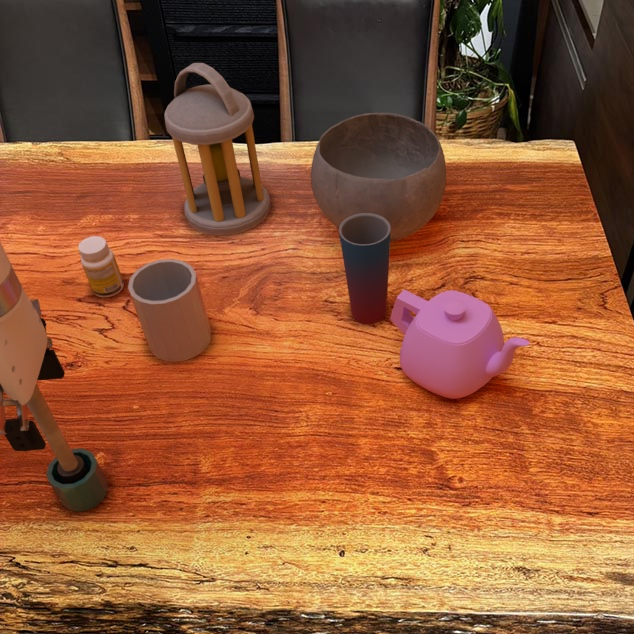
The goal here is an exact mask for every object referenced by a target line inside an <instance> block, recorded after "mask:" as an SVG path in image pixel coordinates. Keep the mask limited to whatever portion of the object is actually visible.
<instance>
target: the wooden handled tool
mask: <svg viewBox="0 0 634 634" xmlns="http://www.w3.org/2000/svg"><path fill="white" fill-rule="evenodd" d="M26 404H27V409H28V410H29V411H30V413H31V415H32V417H33V419H34V420H35V422H36V424H37V427H38V428H39V429H40V431H41V434H42V436H43V437H44V438H45V440H46V442H47V443H48V445H49V447H50V449H51V451H52V453H53V454H54V456H55V457H56V458H57V460H58V461H59V464H58V467H57V471H58V473H59V475H60V476H61V478H62V480H63V482H64V483H65V484H73V483H75V482H77V481H79V480H81V479H83V478H84V477H85V476H86V475H87V474H88V473H89V470H88V469H87V467H86V465H85V463H84V461H83V459H82V458H81V457H79V456H77V455H74V454H73V452H72V450H71V449H72V448H71V446H70V444H69V443H68V440H67V439H66V437H65V435H64V433H63V430H62V429H61V427H60V425H59V423H58V421H57V420H56V418H55V416H54V414H53V412H52V409H51V408H50V406H49V405H48V403H47V401H46V398H45V397H44V395H43V393H42V391H41V389H40V387H39V385H38V384H37V383H36V385H35V388H34V391H33V394H32V397H31V399H30V400H29V401H28V402H27V403H26Z"/></svg>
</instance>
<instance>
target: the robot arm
mask: <svg viewBox="0 0 634 634" xmlns="http://www.w3.org/2000/svg"><path fill="white" fill-rule="evenodd" d="M42 316H43V314H42V309H41V304H40V300H39V299H38V298H31V299H30V297H29V296H28V294H27V293H26V291H25V290H24V287H23V285H22V283H21V282H20V280H19V278H18V275H17V273H16V271H15V269H14V267H13V265H12V263H11V261H10V259H9V256H8V255H7V253H6V251H5V249H4V247H3V244H2V242H1V241H0V435H4V437H5V438H6V440H7V441H8V444H9V445H10V446H11V448H12V450H13V451H15V452H30V451H41V450H45V449H46V445H47V443H46V442H47V441H45V439H44V436H43V434H42V433H41V432H40V430H39V427H38V425H36V423H35V421H34V420H30V419H29V412H28V406H27V404H26V403H27V402H28V401H29V400H30V399H31V397H32V394H33V391H34V388H35V385H36V384H37V382H38V381H49V380H61V379H64V378H65V375H66V372H65V370H64V368H63V365H62V363H61V362H60V359H59V357H58V356H57V352H56V351H55V350H54V349H53V346H54V345H53V339H52V337H49V336H48V334H47V322H46V319H45V318H44V317H42ZM4 393H5V395H6V396H8V397H9V398H4ZM14 406H15V407H16V416H17V418H6V411H5V407H14Z"/></svg>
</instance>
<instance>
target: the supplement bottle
mask: <svg viewBox="0 0 634 634" xmlns="http://www.w3.org/2000/svg"><path fill="white" fill-rule="evenodd" d="M77 248H78V253H79V255H80V264H81V266H82V268H83V271H84V273H85V276H86V278H87V280H88V283H89V285H90V288H91V291H92V293H93V294H94V295H95V296H96V297H99V298H111V297H114V296H116V295H118V294H119V293H120V292H121V291H123V289H124V286H125V281H124V278H123V276H122V273H121V271H120V268H119V265H118V262H117V260H116V257H115V253H114V251H113V250H112V249H111V248H110V247H109V245H108V243H107V240H106V239H105V238H104V237H103V236H99V235H92V236H88V237H86V238H84V239H82V240H81V241H80V242H79V244H78V246H77Z"/></svg>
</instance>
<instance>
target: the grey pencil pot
mask: <svg viewBox="0 0 634 634" xmlns="http://www.w3.org/2000/svg"><path fill="white" fill-rule="evenodd" d="M127 289H128V292H129V295H130V298H131V301H132V303H133V307H134V309H135V312H136V315H137V318H138V321H139V323H140V326H141V329H142V332H143V335H144V338H145V340H146V344H147V346H148V348H149V351H150V353H151V354H152V355H153V356H154V357H155V358H157V359H159V360H162V361H165V362H171V363H177V362H184V361H187V360H188V361H189V360H191V359H193V358H195V357H197V356H199V355H200V354H202V352H204V351H205V350H206V349H207V347H209V345H210V342H211V339H212V329H211V325H210V322H209V321H210V320H209V318H208V314H207V310H206V306H205V303H204V302H205V301H204V298H203V295H202V291H201V287H200V283H199V279H198V276H197V273H196V271H195V269H194V267H193V266H192V265H190V264H189V263H187V262H186V261H184V260H180V259H175V258H164V259H157V260H154V261H150V262H148V263H146V264H144V265H142V266H140V267H139V268H138V269H136V270H135V271H134V272H133V274H132V275H131V276H130V277H129V281H128V284H127Z"/></svg>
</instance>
